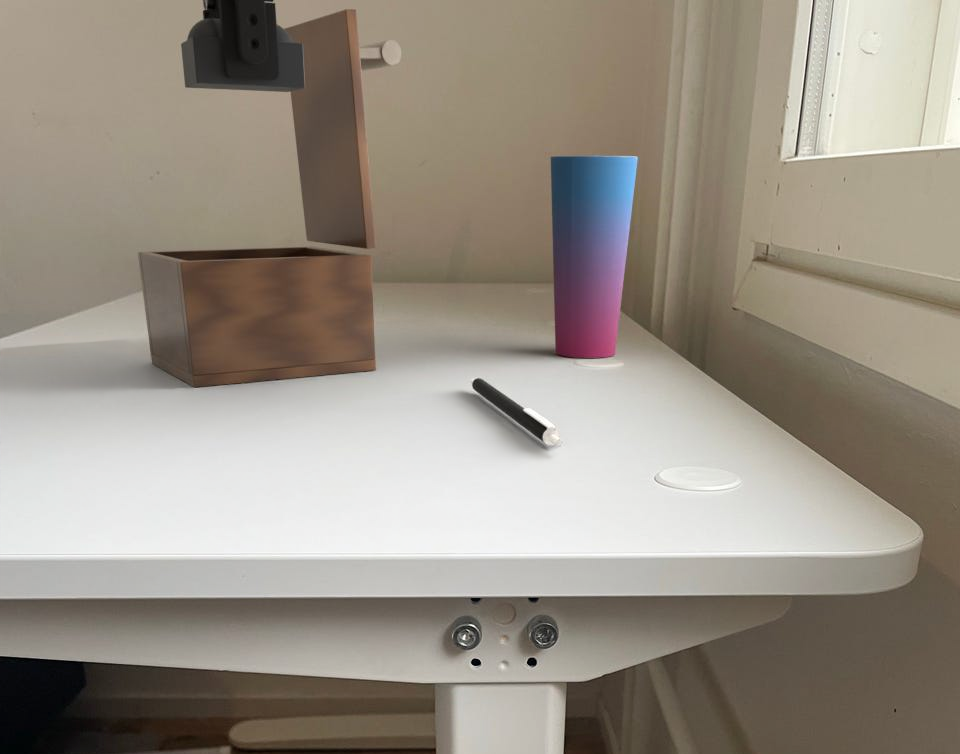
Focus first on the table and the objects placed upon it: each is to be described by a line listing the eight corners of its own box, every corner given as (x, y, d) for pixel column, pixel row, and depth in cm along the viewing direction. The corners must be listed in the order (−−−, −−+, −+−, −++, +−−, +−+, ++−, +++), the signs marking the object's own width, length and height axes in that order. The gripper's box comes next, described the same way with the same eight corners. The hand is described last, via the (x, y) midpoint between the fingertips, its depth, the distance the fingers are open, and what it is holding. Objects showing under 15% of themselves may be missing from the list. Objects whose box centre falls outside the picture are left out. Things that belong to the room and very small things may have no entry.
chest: (194, 387, 72) (180, 262, 68) (151, 363, 81) (137, 251, 77) (376, 370, 78) (371, 255, 75) (317, 350, 87) (311, 246, 84)
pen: (550, 451, 54) (551, 430, 54) (466, 386, 71) (465, 370, 71) (566, 450, 55) (567, 430, 54) (478, 386, 72) (478, 370, 71)
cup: (571, 344, 90) (578, 157, 84) (640, 352, 87) (653, 157, 80) (529, 354, 85) (534, 156, 79) (600, 362, 82) (611, 155, 75)
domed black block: (196, 83, 60) (189, 5, 59) (185, 87, 64) (177, 14, 62) (305, 88, 63) (301, 13, 61) (288, 92, 66) (284, 21, 64)
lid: (345, 9, 68) (417, 10, 70) (283, 28, 77) (348, 29, 79) (366, 248, 74) (431, 242, 77) (306, 240, 84) (366, 235, 86)
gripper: (123, -258, 61) (160, 89, 69) (169, -384, 47) (209, 68, 55) (248, -238, 64) (270, 93, 71) (325, -351, 50) (343, 75, 58)
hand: (243, 78), depth 63 cm, fingers closed on domed black block, 4 cm apart
